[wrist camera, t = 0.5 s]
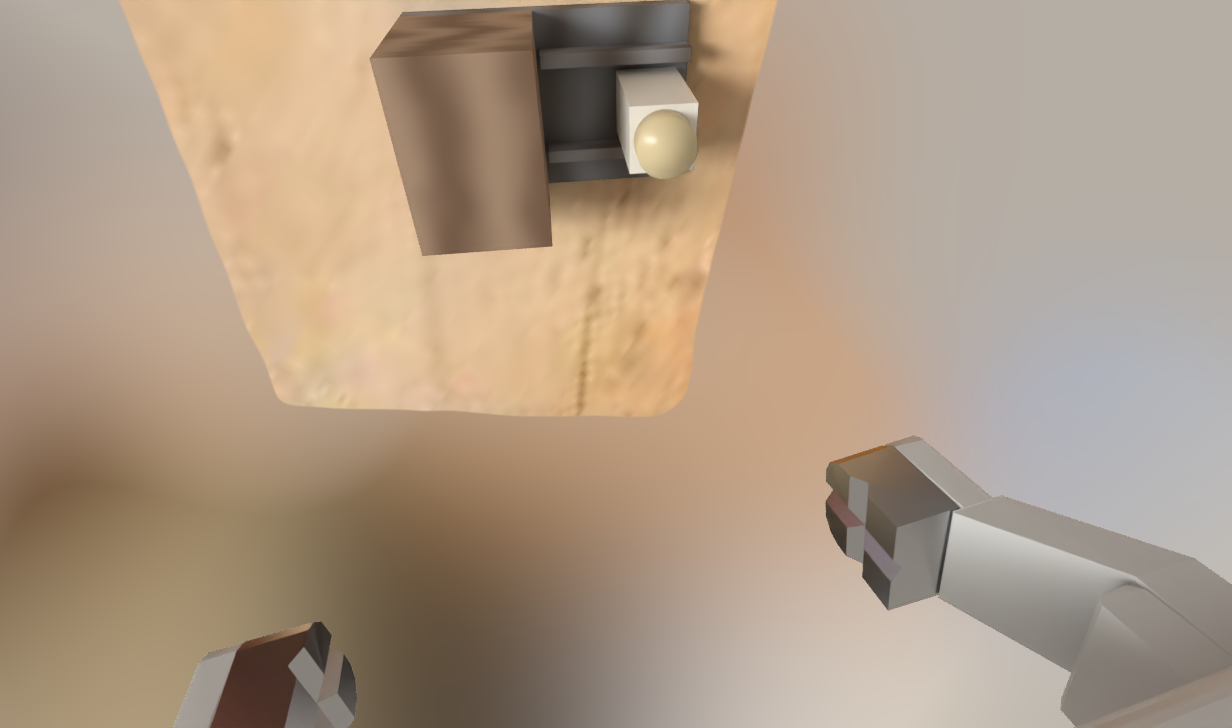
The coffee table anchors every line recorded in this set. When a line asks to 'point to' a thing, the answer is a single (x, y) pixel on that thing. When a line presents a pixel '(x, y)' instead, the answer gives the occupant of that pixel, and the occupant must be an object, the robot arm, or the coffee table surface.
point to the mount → (512, 110)
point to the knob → (656, 121)
